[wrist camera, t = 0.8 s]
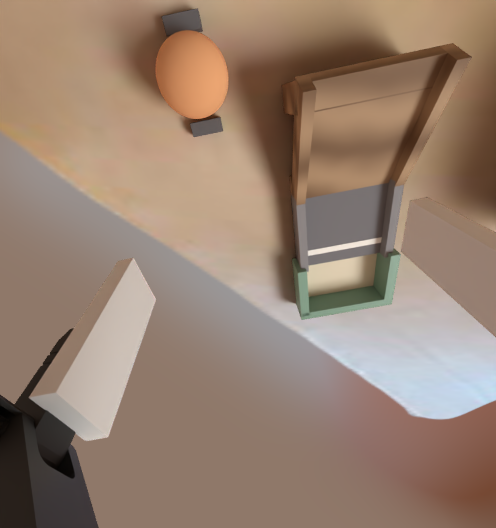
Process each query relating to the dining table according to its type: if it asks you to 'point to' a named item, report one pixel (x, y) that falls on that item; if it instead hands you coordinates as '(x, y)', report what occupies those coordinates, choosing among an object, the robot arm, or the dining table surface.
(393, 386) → the dining table surface
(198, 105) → the ball
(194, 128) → the grey flat pieces
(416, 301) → the dining table surface
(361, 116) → the ramp
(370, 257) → the green open tray
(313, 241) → the runway
